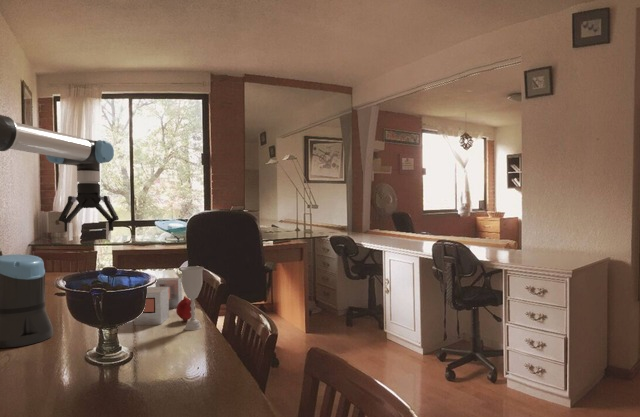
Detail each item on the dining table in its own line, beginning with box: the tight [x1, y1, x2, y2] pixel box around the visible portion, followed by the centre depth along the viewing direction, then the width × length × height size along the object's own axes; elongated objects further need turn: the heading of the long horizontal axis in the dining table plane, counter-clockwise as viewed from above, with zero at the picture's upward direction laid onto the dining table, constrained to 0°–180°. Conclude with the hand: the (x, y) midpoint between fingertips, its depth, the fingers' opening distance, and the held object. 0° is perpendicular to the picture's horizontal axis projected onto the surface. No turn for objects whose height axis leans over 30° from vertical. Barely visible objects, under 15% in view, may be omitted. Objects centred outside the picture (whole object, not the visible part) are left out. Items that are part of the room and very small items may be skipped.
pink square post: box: [143, 287, 170, 312], centre depth 144 cm, size 18×4×4 cm, turn 4°
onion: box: [175, 295, 196, 322], centre depth 138 cm, size 6×6×8 cm
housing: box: [133, 286, 170, 326], centre depth 139 cm, size 9×8×10 cm
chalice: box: [179, 265, 205, 331], centre depth 131 cm, size 7×7×18 cm
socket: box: [155, 277, 183, 309], centre depth 158 cm, size 4×8×10 cm, turn 94°
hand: (89, 240), depth 161 cm, fingers open, 13 cm apart
